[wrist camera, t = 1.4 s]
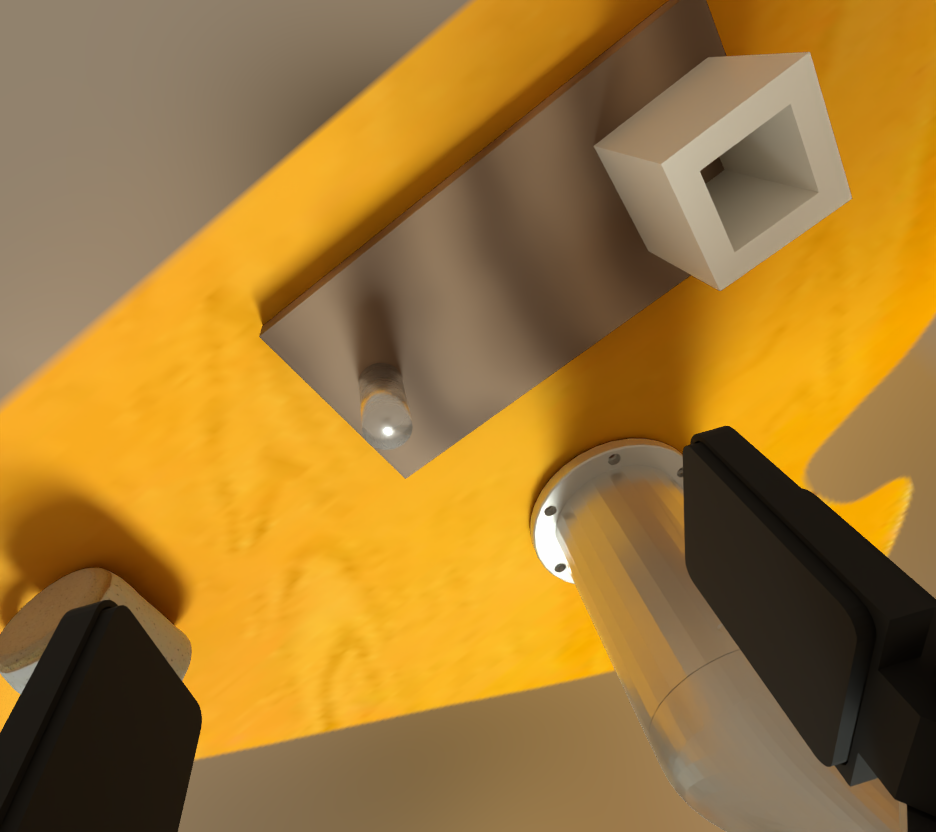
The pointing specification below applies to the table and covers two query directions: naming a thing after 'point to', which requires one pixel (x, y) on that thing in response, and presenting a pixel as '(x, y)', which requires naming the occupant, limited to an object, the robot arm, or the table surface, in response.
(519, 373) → the walnut board
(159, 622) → the ceramic mug
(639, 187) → the cream housing
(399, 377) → the metal stub
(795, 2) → the table surface
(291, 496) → the table surface
